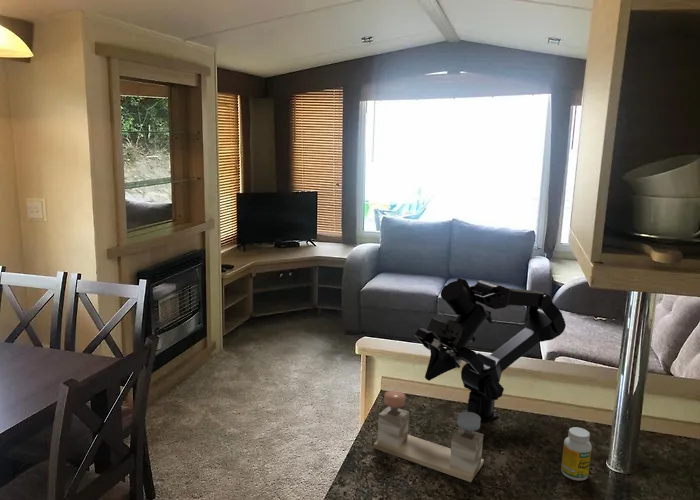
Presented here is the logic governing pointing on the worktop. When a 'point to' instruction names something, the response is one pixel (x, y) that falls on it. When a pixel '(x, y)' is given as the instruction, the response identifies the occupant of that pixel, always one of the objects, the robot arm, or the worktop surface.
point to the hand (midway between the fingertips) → (426, 379)
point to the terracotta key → (394, 399)
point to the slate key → (468, 421)
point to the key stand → (430, 447)
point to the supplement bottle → (576, 454)
